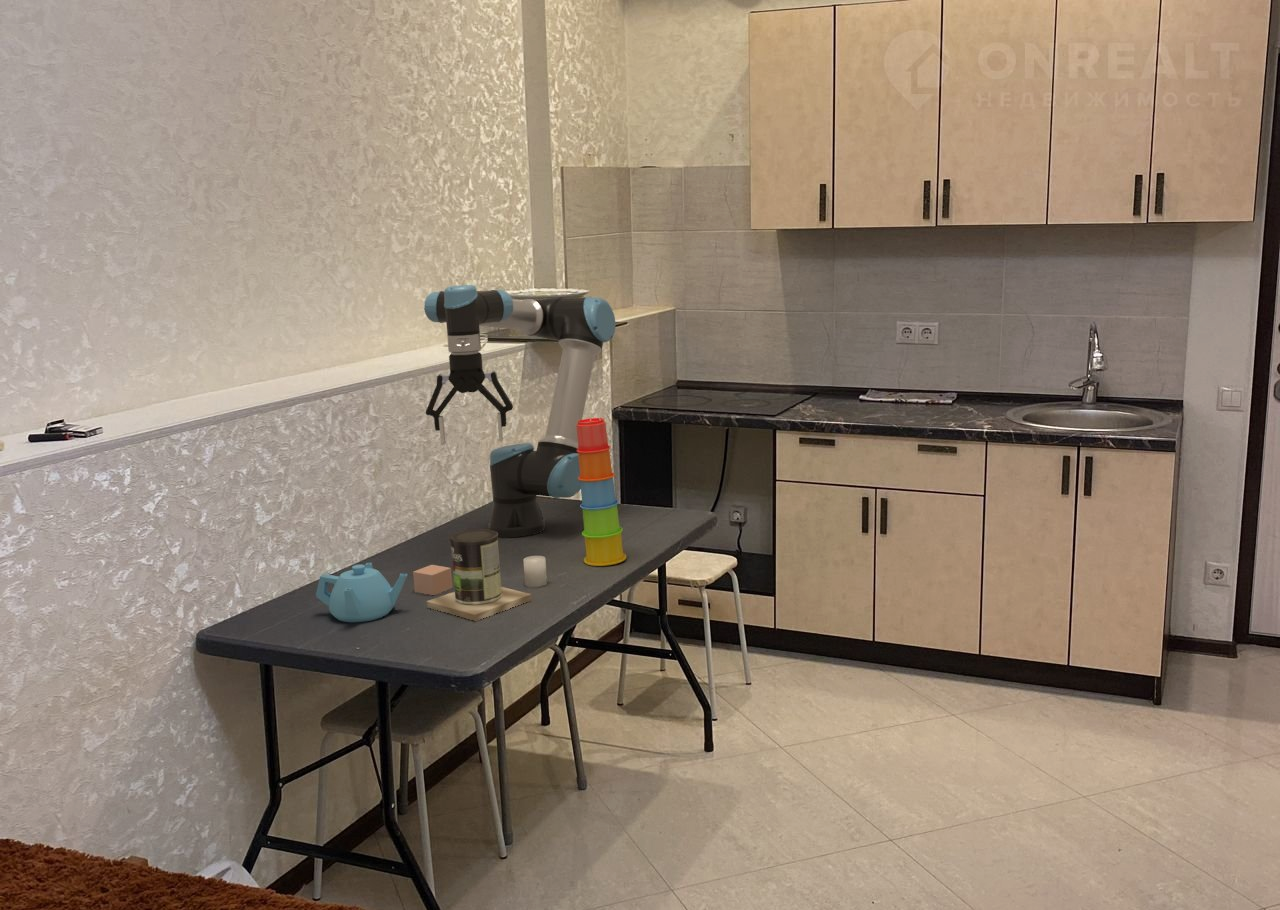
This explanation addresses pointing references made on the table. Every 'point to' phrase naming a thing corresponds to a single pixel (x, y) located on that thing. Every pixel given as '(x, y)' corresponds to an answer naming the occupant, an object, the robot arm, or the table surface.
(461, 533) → the coffee can
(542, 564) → the off-white cylinder
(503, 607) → the birch board
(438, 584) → the terracotta block
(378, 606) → the teapot
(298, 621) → the table surface
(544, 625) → the table surface
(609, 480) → the stacking cups
